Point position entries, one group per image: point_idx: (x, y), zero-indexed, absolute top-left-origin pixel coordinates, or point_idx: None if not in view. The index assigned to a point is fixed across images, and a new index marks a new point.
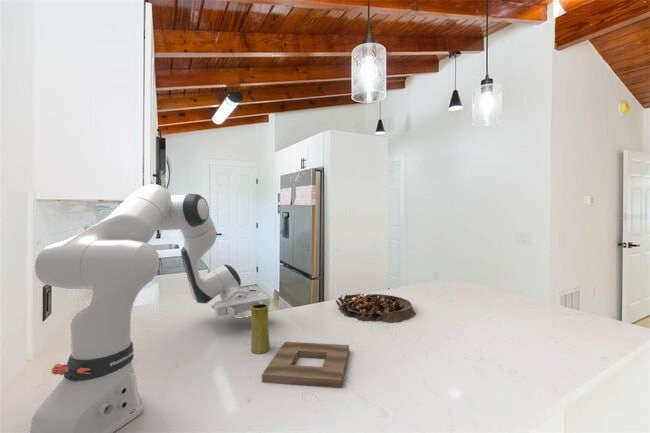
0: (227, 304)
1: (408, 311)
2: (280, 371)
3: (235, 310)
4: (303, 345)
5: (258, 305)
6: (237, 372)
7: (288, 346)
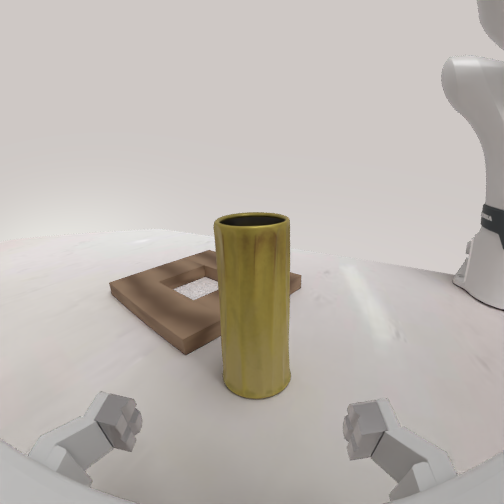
0: (467, 488)
1: None
2: None
3: (366, 403)
4: (164, 309)
5: (243, 234)
6: (341, 315)
7: (196, 318)
